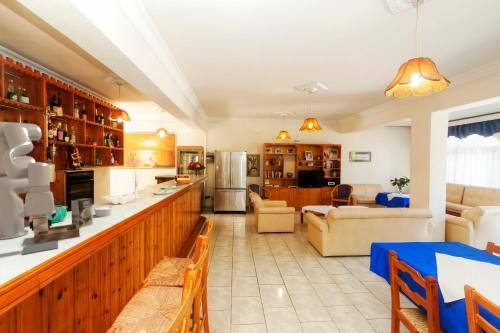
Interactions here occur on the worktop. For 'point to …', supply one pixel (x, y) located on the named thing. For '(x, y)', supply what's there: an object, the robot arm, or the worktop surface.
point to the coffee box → (82, 212)
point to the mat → (40, 247)
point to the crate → (57, 233)
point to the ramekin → (103, 211)
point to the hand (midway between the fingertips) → (41, 228)
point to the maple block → (40, 224)
